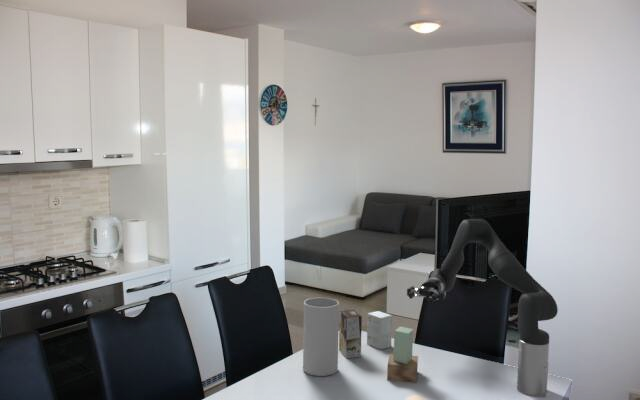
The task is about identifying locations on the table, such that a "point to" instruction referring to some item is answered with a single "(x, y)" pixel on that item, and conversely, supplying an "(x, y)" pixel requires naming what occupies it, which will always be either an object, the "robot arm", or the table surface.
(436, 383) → the table surface
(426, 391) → the table surface
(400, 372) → the walnut block
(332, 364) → the cylinder vase
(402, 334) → the sage block
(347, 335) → the coffee box
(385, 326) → the small box
